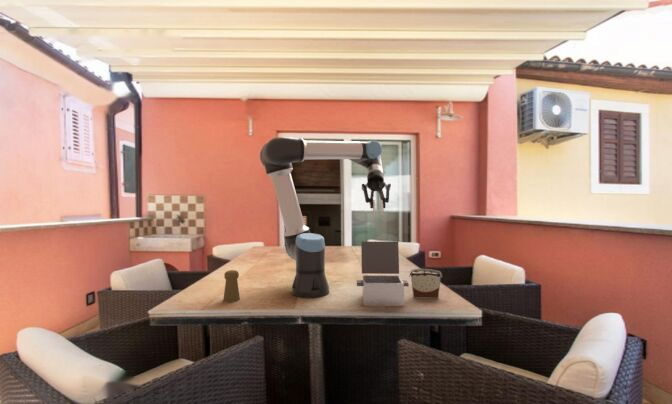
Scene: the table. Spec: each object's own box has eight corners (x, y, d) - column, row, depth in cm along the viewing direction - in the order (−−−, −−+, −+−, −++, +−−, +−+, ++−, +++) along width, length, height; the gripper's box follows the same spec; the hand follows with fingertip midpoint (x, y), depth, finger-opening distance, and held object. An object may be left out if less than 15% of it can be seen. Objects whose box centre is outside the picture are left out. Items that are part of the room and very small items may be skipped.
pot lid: (361, 241, 127) (361, 241, 128) (361, 273, 125) (361, 273, 126) (398, 241, 127) (397, 241, 128) (399, 273, 125) (398, 273, 125)
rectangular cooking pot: (357, 305, 113) (357, 283, 113) (356, 295, 125) (356, 275, 125) (410, 306, 112) (410, 283, 112) (404, 296, 124) (404, 275, 124)
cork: (243, 299, 121) (242, 270, 121) (228, 303, 116) (228, 273, 116) (234, 296, 125) (234, 268, 125) (220, 299, 120) (220, 270, 120)
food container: (438, 293, 127) (438, 268, 127) (442, 298, 121) (442, 272, 121) (407, 293, 128) (407, 268, 128) (409, 297, 122) (409, 271, 122)
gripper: (391, 182, 152) (396, 219, 135) (358, 182, 152) (359, 219, 136) (392, 169, 146) (398, 206, 130) (358, 170, 147) (359, 206, 130)
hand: (378, 213), depth 133 cm, fingers open, 3 cm apart
